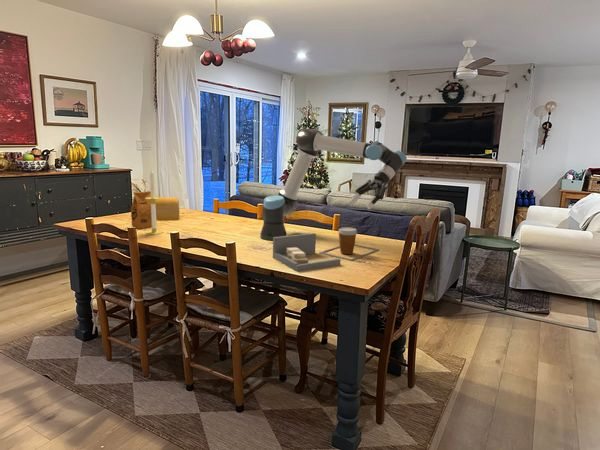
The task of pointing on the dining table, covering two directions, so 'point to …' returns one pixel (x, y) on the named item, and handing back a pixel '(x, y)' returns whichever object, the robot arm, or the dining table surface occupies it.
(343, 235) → the disposable coffee cup
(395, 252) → the dining table surface
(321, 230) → the dining table surface
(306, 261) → the offcut stack
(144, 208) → the coffee package
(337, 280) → the dining table surface
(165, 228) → the dining table surface
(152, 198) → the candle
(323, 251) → the empty picture frame
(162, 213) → the bread
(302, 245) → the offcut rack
